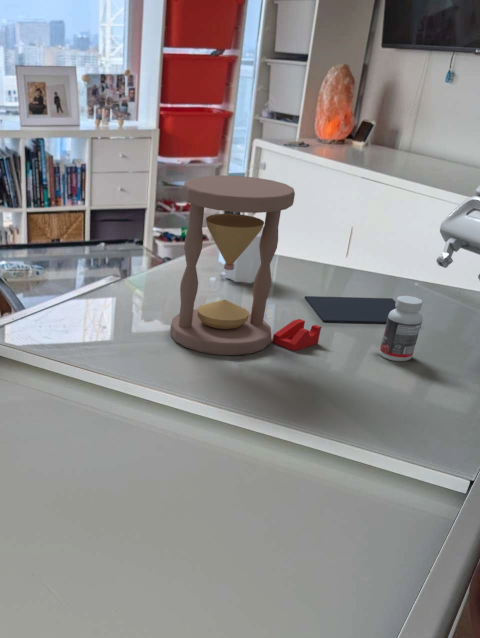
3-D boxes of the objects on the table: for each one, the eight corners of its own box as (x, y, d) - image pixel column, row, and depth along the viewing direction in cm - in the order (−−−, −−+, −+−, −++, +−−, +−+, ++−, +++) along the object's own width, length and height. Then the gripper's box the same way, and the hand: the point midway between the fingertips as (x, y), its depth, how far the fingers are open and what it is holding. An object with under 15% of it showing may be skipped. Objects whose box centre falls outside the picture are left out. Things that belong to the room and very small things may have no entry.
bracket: (296, 335, 136) (299, 318, 134) (317, 343, 133) (321, 327, 131) (272, 342, 132) (275, 325, 131) (293, 351, 129) (296, 334, 128)
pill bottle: (375, 348, 131) (389, 293, 126) (407, 351, 131) (422, 295, 126) (382, 361, 127) (397, 303, 122) (415, 363, 127) (431, 305, 121)
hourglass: (261, 321, 141) (284, 177, 127) (278, 358, 127) (306, 199, 113) (166, 317, 141) (179, 173, 127) (172, 353, 126) (187, 195, 113)
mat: (391, 300, 154) (392, 298, 154) (417, 324, 143) (418, 322, 142) (304, 298, 154) (304, 296, 153) (323, 322, 142) (323, 320, 142)
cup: (276, 280, 163) (284, 233, 157) (241, 287, 158) (248, 238, 153) (245, 268, 170) (252, 222, 164) (211, 274, 165) (216, 227, 160)
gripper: (586, 237, 116) (515, 304, 118) (485, 207, 132) (425, 267, 134) (576, 207, 112) (503, 278, 115) (473, 180, 128) (412, 243, 130)
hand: (460, 272), depth 125 cm, fingers open, 8 cm apart
